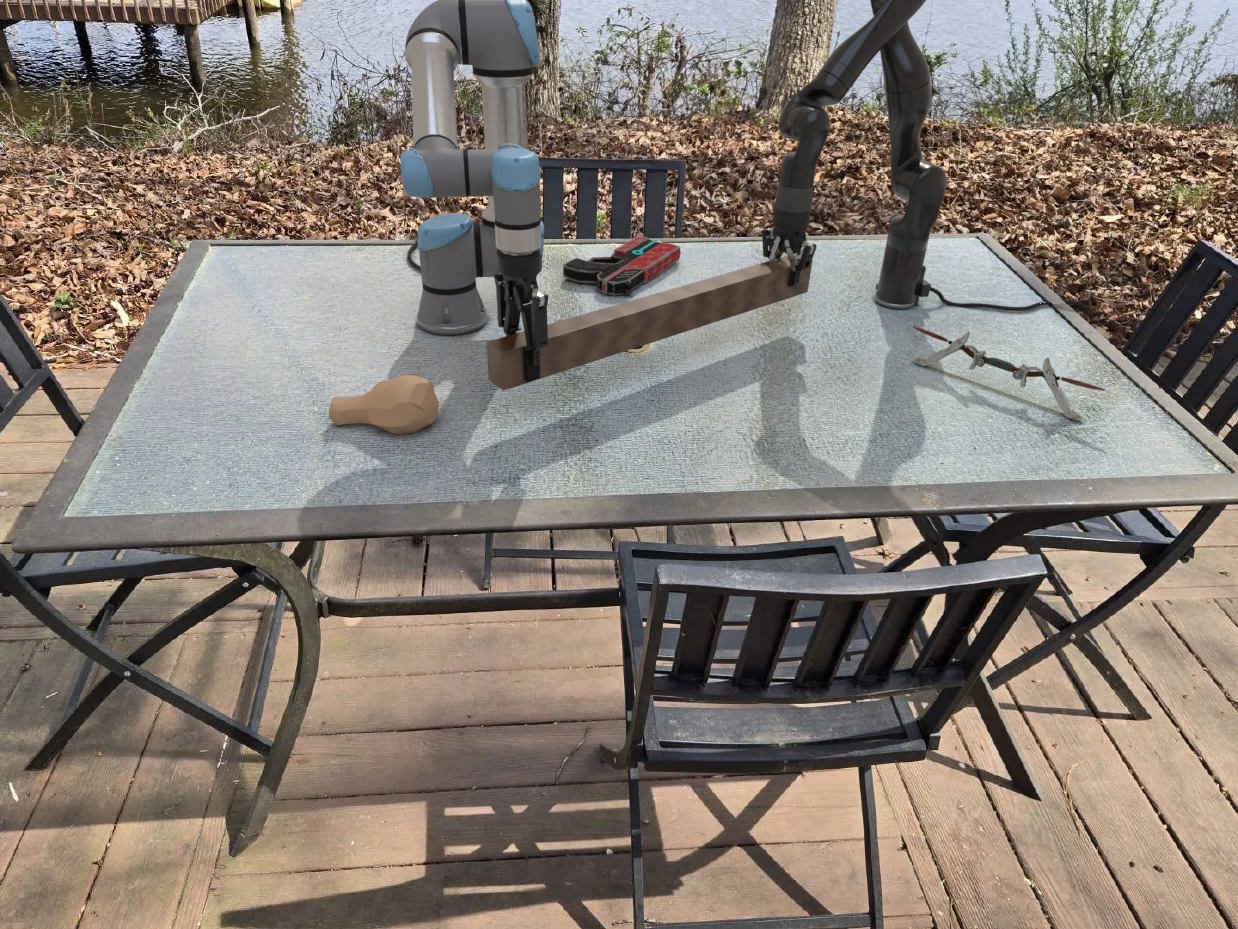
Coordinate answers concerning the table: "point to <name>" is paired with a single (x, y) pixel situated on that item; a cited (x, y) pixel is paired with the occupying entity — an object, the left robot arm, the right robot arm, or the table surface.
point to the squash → (390, 405)
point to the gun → (624, 266)
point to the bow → (1018, 373)
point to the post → (644, 321)
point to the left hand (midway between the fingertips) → (524, 373)
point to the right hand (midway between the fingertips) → (783, 281)
